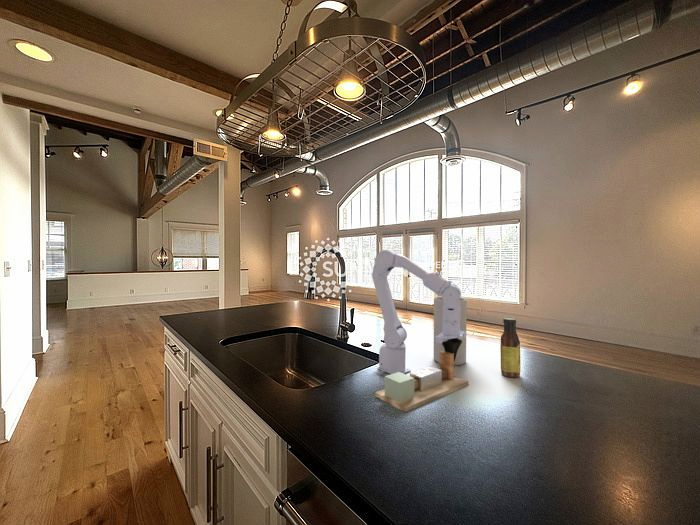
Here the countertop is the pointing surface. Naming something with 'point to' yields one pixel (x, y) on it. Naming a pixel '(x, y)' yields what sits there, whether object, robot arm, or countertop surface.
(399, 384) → the pale green block
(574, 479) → the countertop surface
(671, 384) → the countertop surface
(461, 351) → the cylinder vase
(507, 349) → the sauce bottle
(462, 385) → the base board
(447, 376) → the brown piece
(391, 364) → the robot arm
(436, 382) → the metal sleeve
